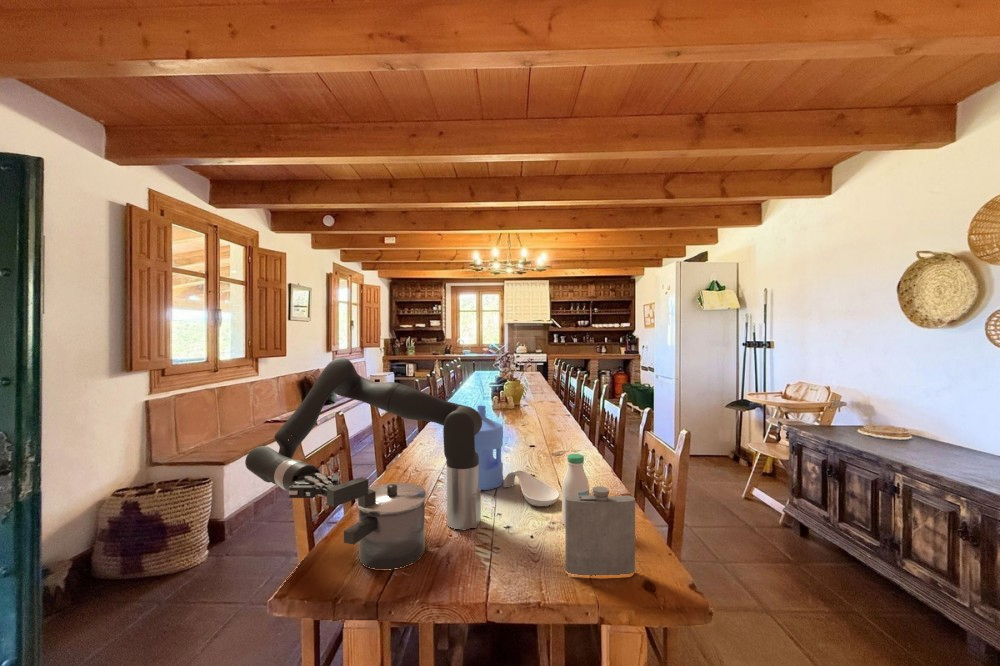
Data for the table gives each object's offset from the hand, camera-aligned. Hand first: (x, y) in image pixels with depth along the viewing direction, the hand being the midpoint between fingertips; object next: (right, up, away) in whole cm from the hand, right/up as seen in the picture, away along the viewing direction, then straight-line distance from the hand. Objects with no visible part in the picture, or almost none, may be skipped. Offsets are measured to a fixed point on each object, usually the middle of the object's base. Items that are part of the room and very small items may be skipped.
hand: (336, 493), depth 97 cm
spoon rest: (+47, -19, +47) cm, 69 cm away
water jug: (+30, -19, +59) cm, 69 cm away
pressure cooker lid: (+7, -6, +8) cm, 12 cm away
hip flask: (+60, -20, +2) cm, 63 cm away
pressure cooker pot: (+8, -19, +8) cm, 22 cm away
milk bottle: (+59, -19, +27) cm, 67 cm away
